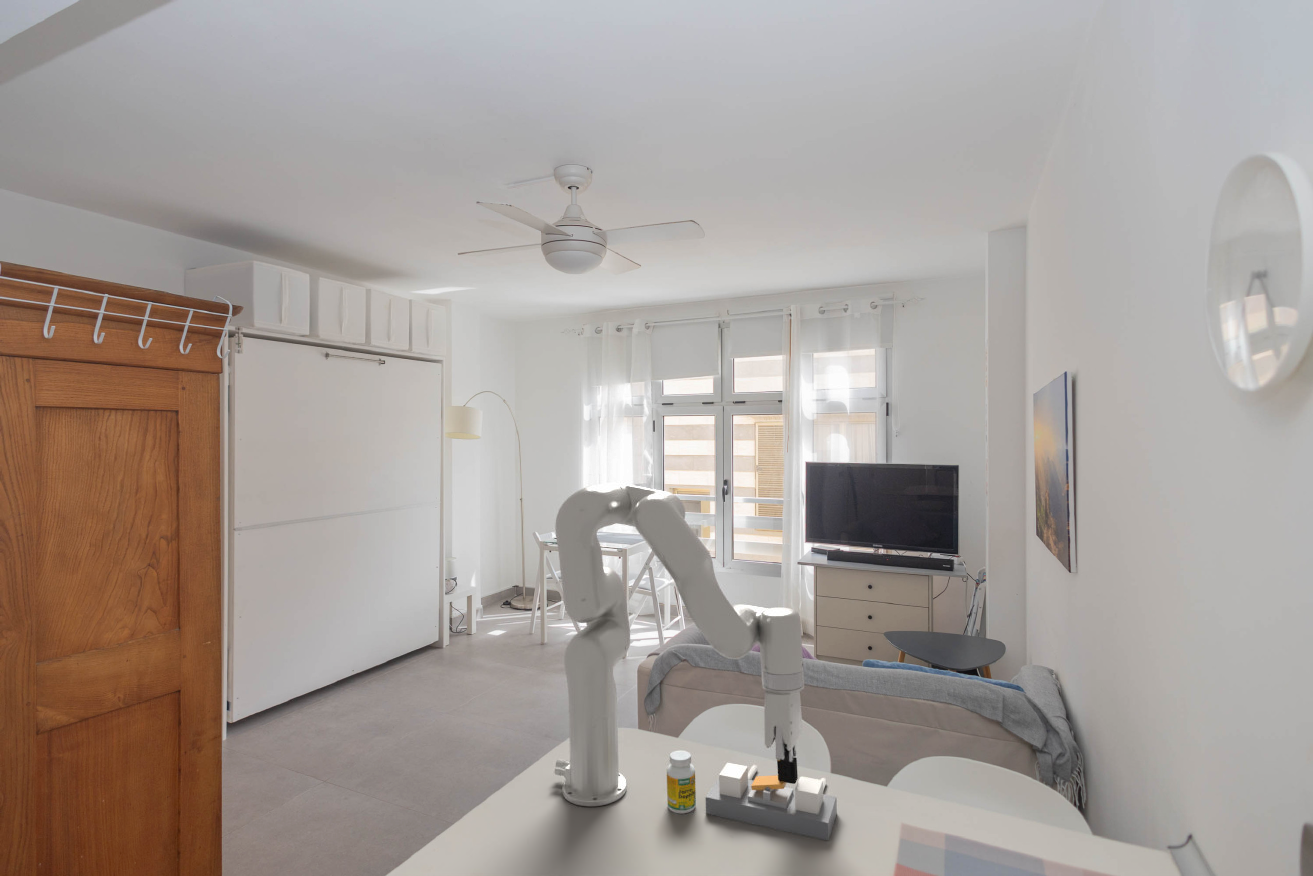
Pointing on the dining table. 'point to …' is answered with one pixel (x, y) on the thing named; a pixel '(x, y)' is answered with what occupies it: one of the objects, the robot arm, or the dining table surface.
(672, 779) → the supplement bottle
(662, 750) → the dining table surface
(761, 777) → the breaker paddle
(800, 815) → the power strip
